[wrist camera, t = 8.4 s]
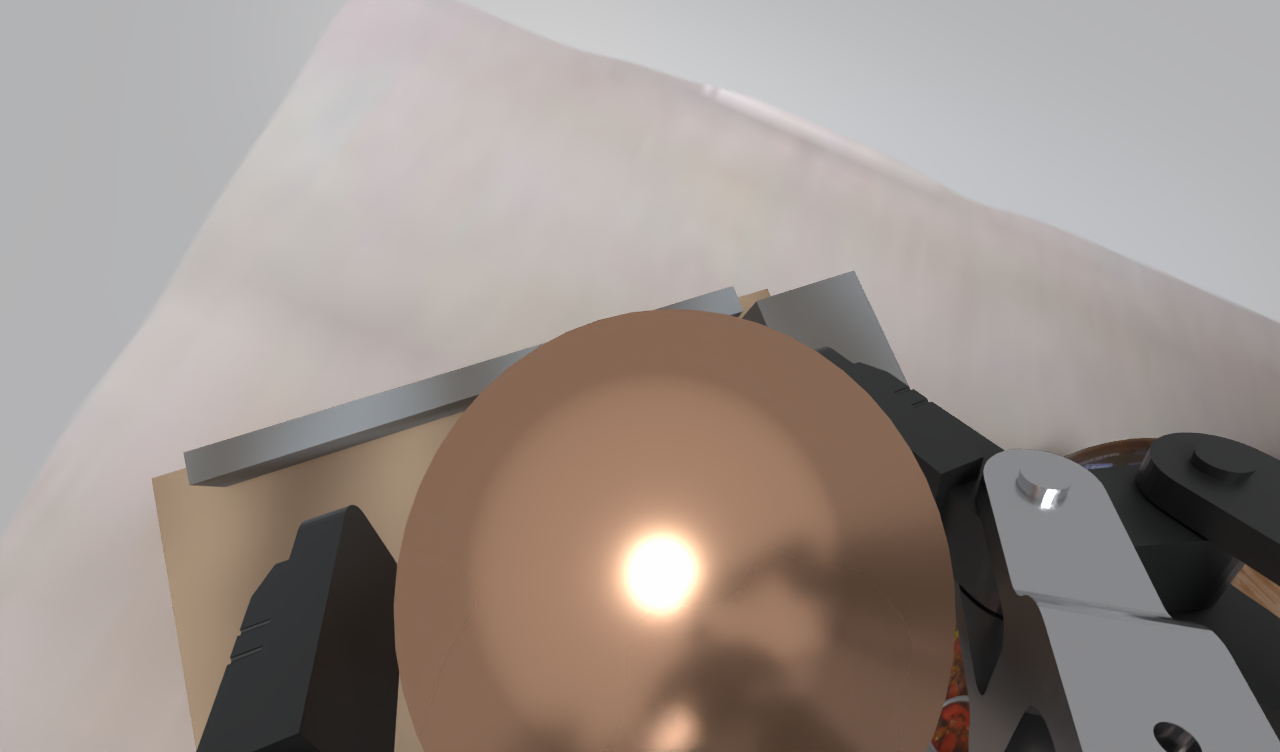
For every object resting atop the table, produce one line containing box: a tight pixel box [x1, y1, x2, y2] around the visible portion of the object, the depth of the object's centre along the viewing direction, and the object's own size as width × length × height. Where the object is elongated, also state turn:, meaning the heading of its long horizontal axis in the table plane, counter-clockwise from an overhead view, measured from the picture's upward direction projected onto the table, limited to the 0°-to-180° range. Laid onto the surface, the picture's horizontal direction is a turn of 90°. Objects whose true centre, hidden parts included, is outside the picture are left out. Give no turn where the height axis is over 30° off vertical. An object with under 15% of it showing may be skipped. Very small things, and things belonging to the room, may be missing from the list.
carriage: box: [394, 309, 956, 752], centre depth 10 cm, size 3×8×15 cm, turn 20°
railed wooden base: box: [152, 271, 910, 752], centre depth 16 cm, size 22×12×8 cm, turn 110°
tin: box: [926, 438, 1280, 752], centre depth 16 cm, size 15×3×8 cm, turn 136°
